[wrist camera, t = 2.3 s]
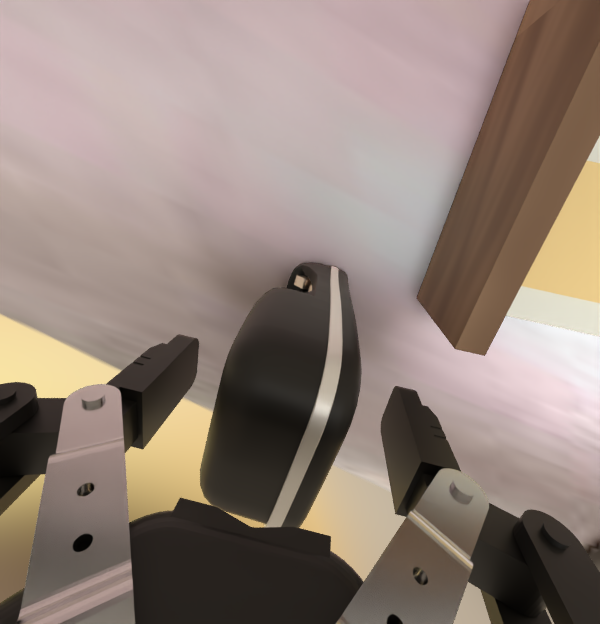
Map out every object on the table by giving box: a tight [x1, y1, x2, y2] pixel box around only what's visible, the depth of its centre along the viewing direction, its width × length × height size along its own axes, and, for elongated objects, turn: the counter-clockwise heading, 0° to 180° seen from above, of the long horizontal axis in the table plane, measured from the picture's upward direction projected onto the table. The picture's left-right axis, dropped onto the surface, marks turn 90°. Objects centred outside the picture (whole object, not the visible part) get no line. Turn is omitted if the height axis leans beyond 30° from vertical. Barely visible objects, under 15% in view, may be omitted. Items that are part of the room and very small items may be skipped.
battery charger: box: [200, 263, 361, 528], centre depth 13 cm, size 7×4×11 cm, turn 163°
